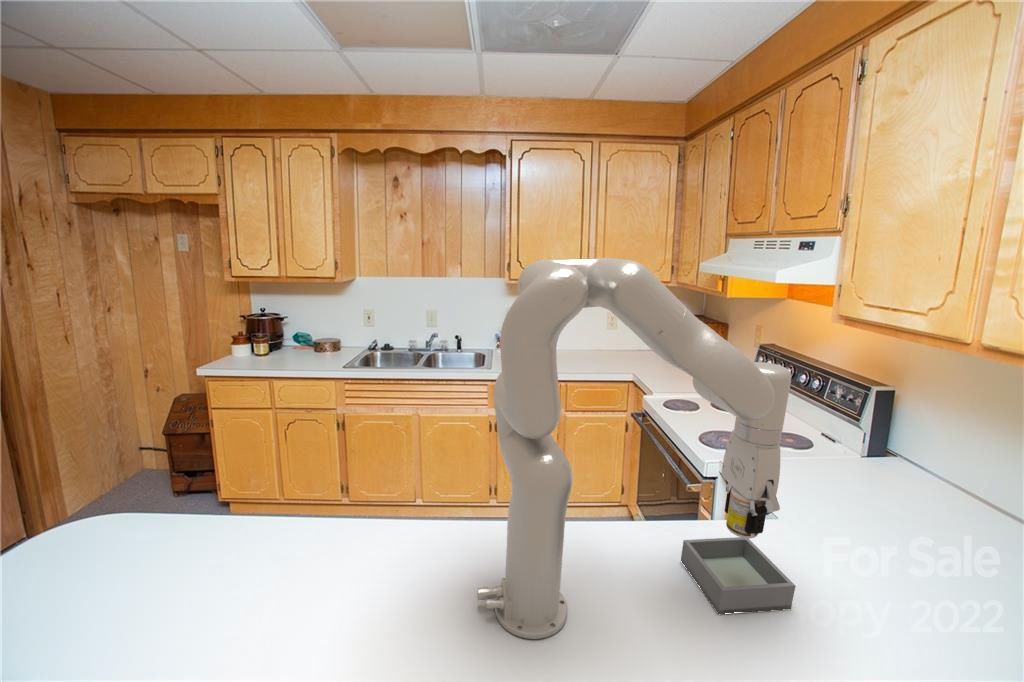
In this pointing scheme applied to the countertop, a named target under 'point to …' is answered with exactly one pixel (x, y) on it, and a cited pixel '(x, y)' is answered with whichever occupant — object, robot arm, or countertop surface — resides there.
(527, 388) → the robot arm
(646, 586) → the countertop surface
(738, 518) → the supplement bottle
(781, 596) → the tray
